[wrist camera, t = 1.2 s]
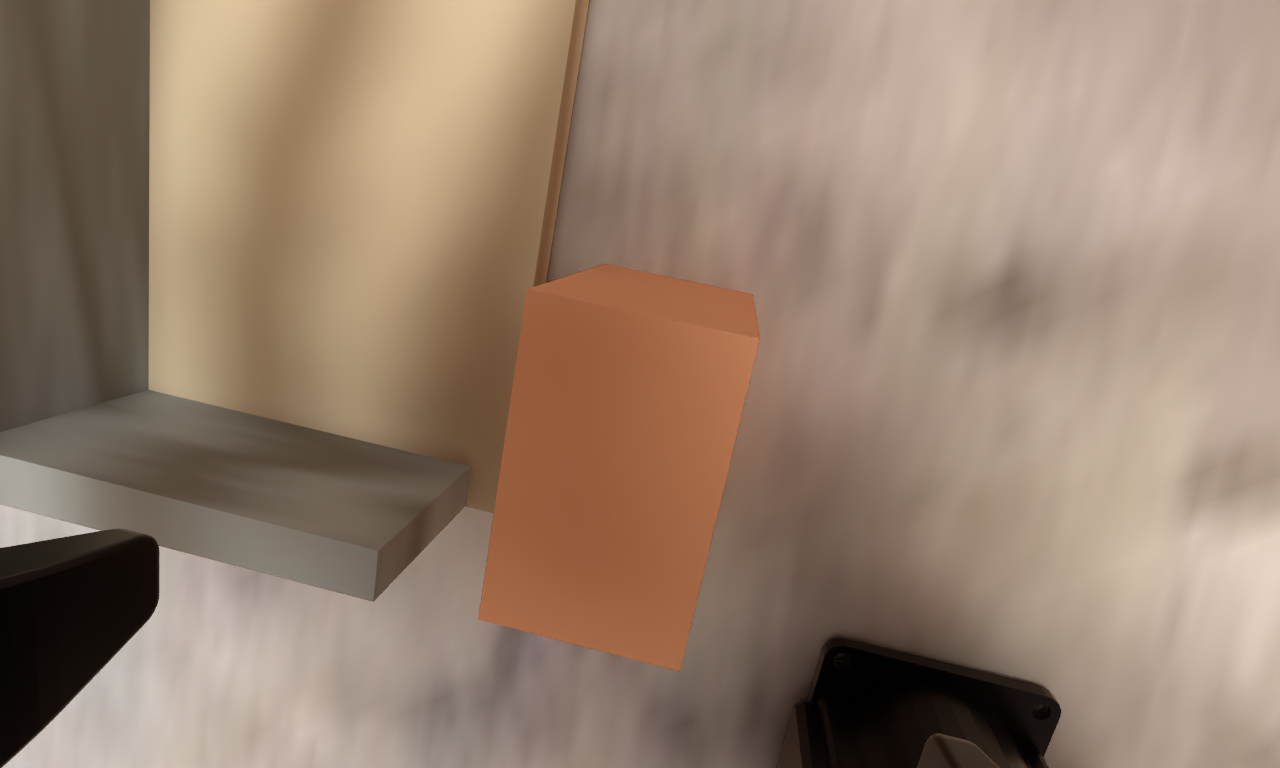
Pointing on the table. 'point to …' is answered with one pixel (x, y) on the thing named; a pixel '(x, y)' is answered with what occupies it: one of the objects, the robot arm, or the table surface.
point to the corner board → (273, 266)
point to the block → (617, 459)
